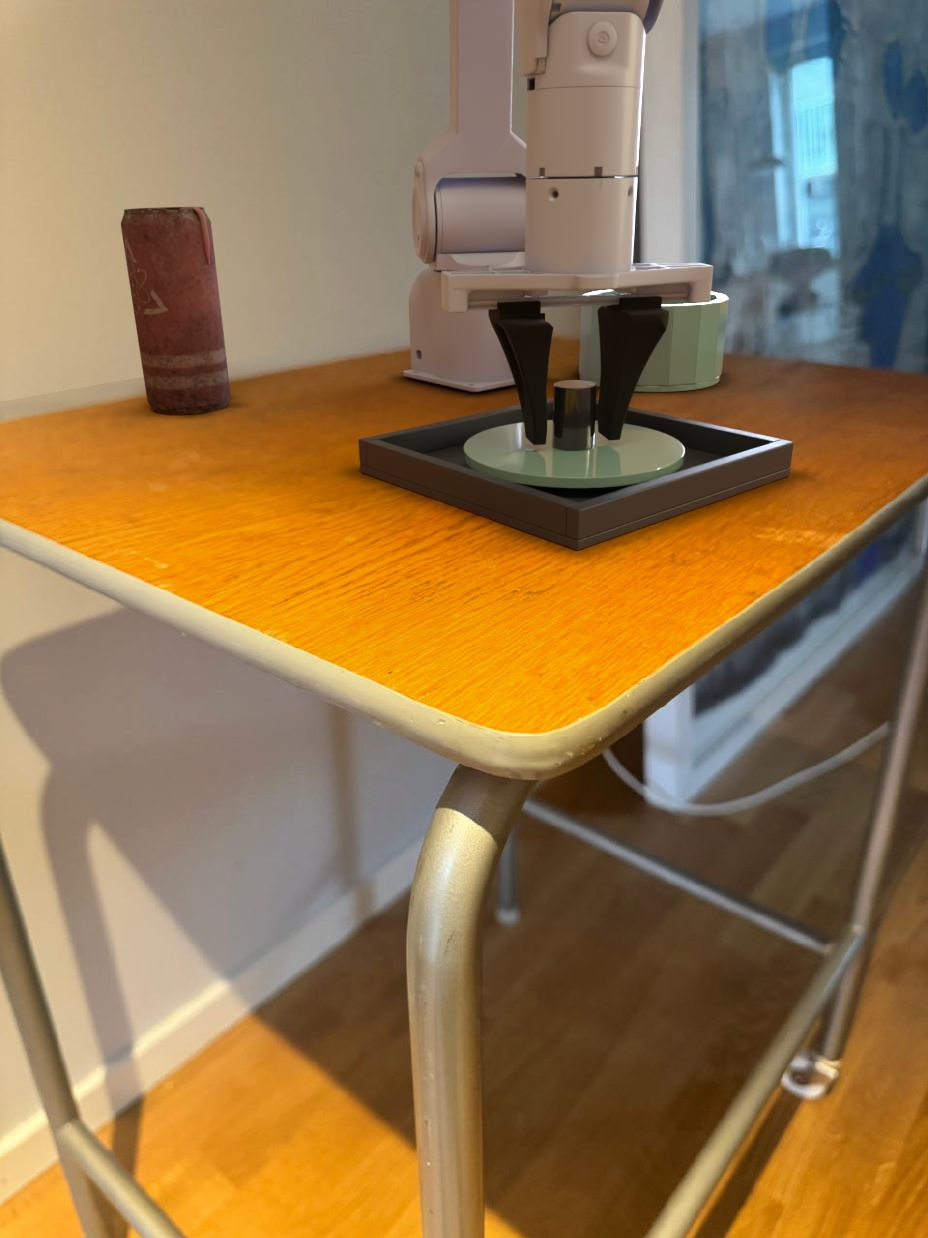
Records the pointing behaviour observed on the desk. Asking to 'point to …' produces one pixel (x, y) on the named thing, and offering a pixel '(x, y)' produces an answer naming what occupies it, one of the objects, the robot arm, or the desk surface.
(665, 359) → the pot
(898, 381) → the desk surface
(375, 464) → the tray
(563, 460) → the lid
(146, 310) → the can
